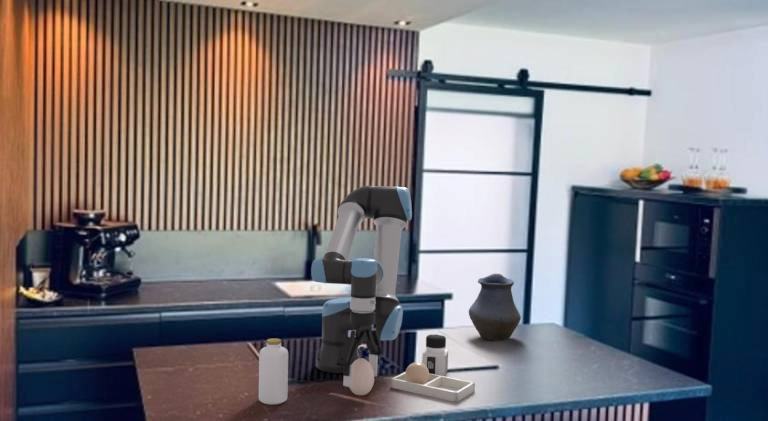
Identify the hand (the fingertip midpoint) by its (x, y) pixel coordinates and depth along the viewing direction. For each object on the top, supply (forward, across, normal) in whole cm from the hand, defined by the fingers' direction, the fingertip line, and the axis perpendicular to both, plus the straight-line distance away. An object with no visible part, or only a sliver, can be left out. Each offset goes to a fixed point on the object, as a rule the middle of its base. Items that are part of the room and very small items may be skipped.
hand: (360, 380), depth 219 cm
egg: (+5, 0, 0) cm, 5 cm away
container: (+4, +34, -8) cm, 35 cm away
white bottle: (+5, -18, +18) cm, 26 cm away
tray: (+4, +16, -16) cm, 23 cm away
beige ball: (+4, +16, -10) cm, 20 cm away
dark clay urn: (+3, +90, -5) cm, 91 cm away
